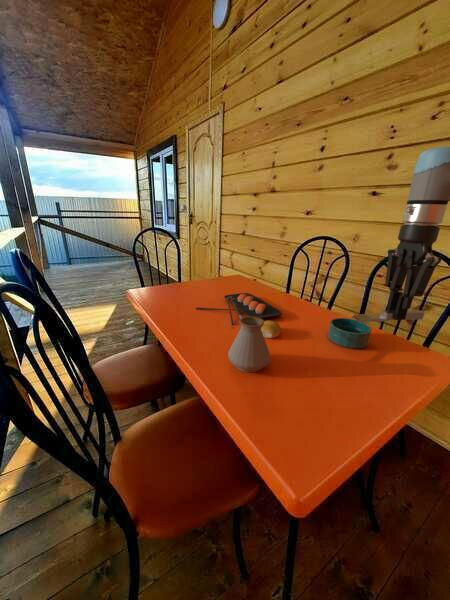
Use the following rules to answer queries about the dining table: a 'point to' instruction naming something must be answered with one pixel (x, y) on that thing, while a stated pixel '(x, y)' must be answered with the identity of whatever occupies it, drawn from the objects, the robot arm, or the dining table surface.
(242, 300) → the sushi plate
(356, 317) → the fork
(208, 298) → the dining table surface
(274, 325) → the bread roll
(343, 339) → the bowl
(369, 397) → the dining table surface
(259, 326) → the coffee pot
